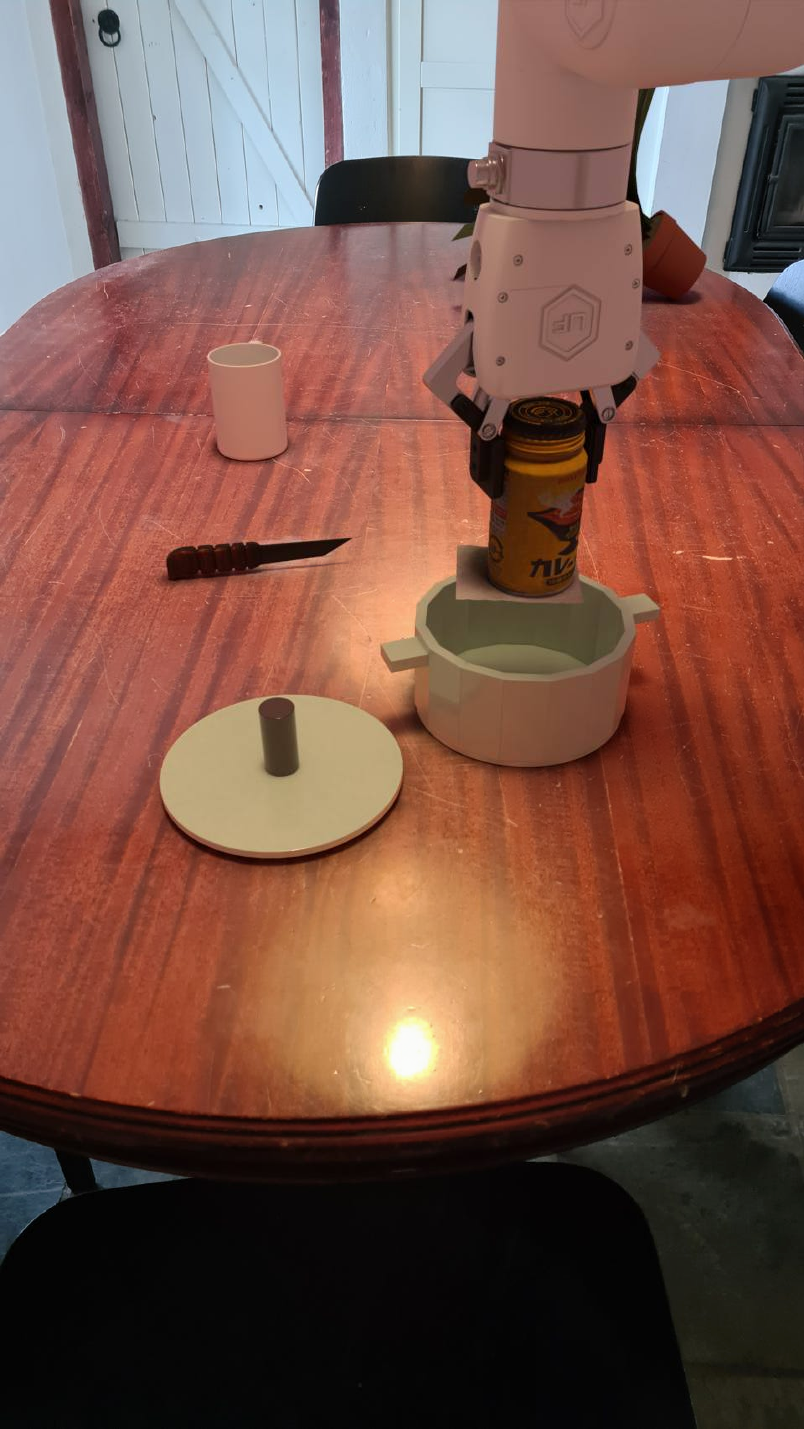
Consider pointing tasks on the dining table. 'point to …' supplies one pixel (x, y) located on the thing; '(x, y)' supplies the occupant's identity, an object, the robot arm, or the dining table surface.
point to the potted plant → (664, 243)
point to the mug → (248, 400)
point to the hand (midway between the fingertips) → (535, 480)
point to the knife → (243, 555)
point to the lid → (281, 776)
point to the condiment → (533, 510)
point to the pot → (522, 672)
